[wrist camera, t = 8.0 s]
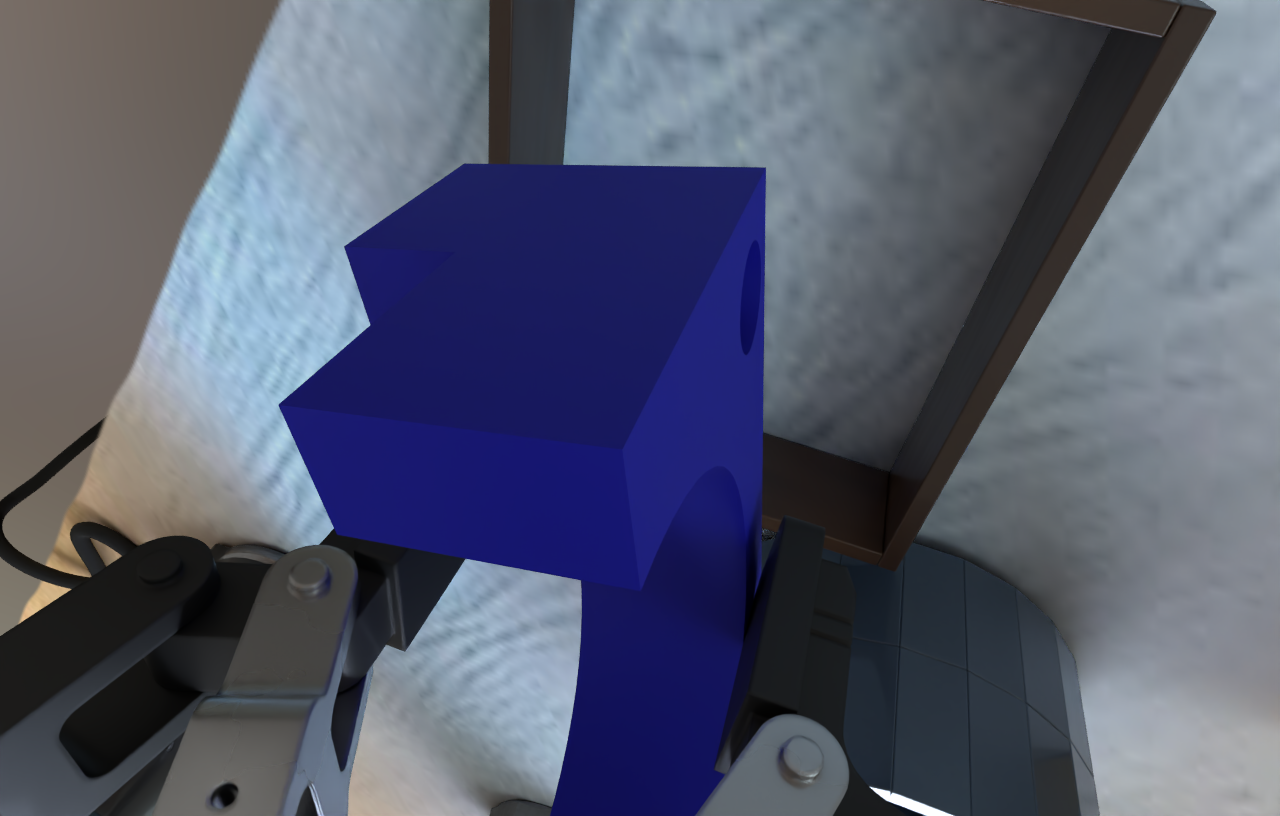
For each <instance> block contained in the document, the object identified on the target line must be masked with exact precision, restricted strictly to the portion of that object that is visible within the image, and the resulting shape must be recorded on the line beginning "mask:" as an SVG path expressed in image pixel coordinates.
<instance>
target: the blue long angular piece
mask: <svg viewBox="0 0 1280 816" xmlns="http://www.w3.org/2000/svg"><path fill="white" fill-rule="evenodd" d="M765 198H766V168H759V167H683V166H606V165H530V164H463V165H462V166H460V167H459V168H457V169H456V170H454V171H453V172H452V173H450V174H449V175H447V176H446V177H444V178H443V179H441V180H440V181H439V182H437V183H436V184H434V185H433V186H431V187H430V188H428V189H427V190H425V191H424V192H423V193H421V194H420V195H418V196H417V197H415V198H414V199H412V200H411V201H410V202H408V203H407V204H405V205H404V206H402V207H401V208H399V209H398V210H396V211H395V212H394V213H392V214H391V215H389V216H388V217H386V218H385V219H383V220H382V221H380V222H379V223H378V224H376V225H375V226H373V227H372V228H370V229H369V230H367V231H366V232H365V233H363V234H362V235H360V236H359V237H357V238H356V239H354V240H353V241H351V242H350V243H349V244H347V245H346V246H344V248H345V251H346V254H347V256H348V259H349V262H350V265H351V268H352V271H353V274H354V277H355V280H356V283H357V286H358V289H359V292H360V295H361V298H362V301H363V304H364V307H365V310H366V313H367V316H368V319H369V322H370V324H371V325H370V326H369V327H368V328H367V329H366V330H365V331H363V332H362V333H361V334H360V335H359V336H358V337H357V338H355V339H354V340H353V341H352V342H351V343H350V344H348V345H347V346H346V347H345V348H344V349H343V350H341V351H340V352H339V353H338V354H337V355H336V356H334V357H333V358H332V359H331V360H330V361H329V362H328V363H326V364H325V365H324V366H323V367H322V368H321V369H319V370H318V371H317V372H316V373H315V374H314V375H312V376H311V377H310V378H309V379H308V380H307V381H305V382H304V383H303V384H302V385H301V386H300V387H299V388H297V389H296V390H295V391H294V392H293V393H292V394H290V395H289V396H288V397H287V398H286V399H285V400H283V401H282V402H281V403H280V404H279V407H280V410H281V412H282V414H283V416H284V418H285V421H286V423H287V425H288V427H289V429H290V432H291V434H292V436H293V438H294V441H295V443H296V445H297V447H298V449H299V452H300V454H301V456H302V458H303V460H304V463H305V465H306V467H307V469H308V471H309V474H310V476H311V478H312V480H313V483H314V485H315V487H316V489H317V491H318V494H319V496H320V498H321V500H322V502H323V505H324V507H325V509H326V511H327V513H328V516H329V518H330V520H331V522H332V525H333V527H334V529H335V531H336V533H337V535H342V536H348V537H353V538H358V539H364V540H369V541H374V542H380V543H385V544H390V545H396V546H401V547H407V548H412V549H417V550H423V551H428V552H433V553H439V554H444V555H449V556H455V557H460V558H465V559H471V560H476V561H481V562H487V563H492V564H497V565H503V566H508V567H513V568H519V569H524V570H530V571H535V572H540V573H546V574H551V575H556V576H562V577H567V578H572V579H578V580H581V588H582V625H581V645H580V658H579V668H578V677H577V686H576V693H575V700H574V707H573V714H572V720H571V725H570V731H569V736H568V742H567V746H566V751H565V756H564V761H563V765H562V770H561V774H560V778H559V782H558V786H557V791H556V795H555V799H554V803H553V806H552V810H551V813H550V816H695V815H696V814H697V813H698V811H699V810H700V808H701V807H702V806H703V804H704V803H705V802H706V800H707V799H708V797H709V796H710V795H711V793H712V792H713V791H714V789H715V788H716V787H717V785H718V784H719V782H720V781H721V780H722V778H723V777H724V776H725V774H723V773H720V772H718V771H715V770H714V766H715V762H716V757H717V753H718V749H719V745H720V740H721V736H722V732H723V728H724V723H725V719H726V715H727V711H728V706H729V702H730V698H731V694H732V689H733V685H734V681H735V677H736V672H737V668H738V664H739V660H740V655H741V651H742V647H743V643H744V638H745V634H746V630H747V626H748V621H749V617H750V613H751V609H752V604H753V600H754V596H755V593H756V589H757V586H758V582H759V579H760V576H761V554H762V465H763V376H764V287H765Z"/></svg>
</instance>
